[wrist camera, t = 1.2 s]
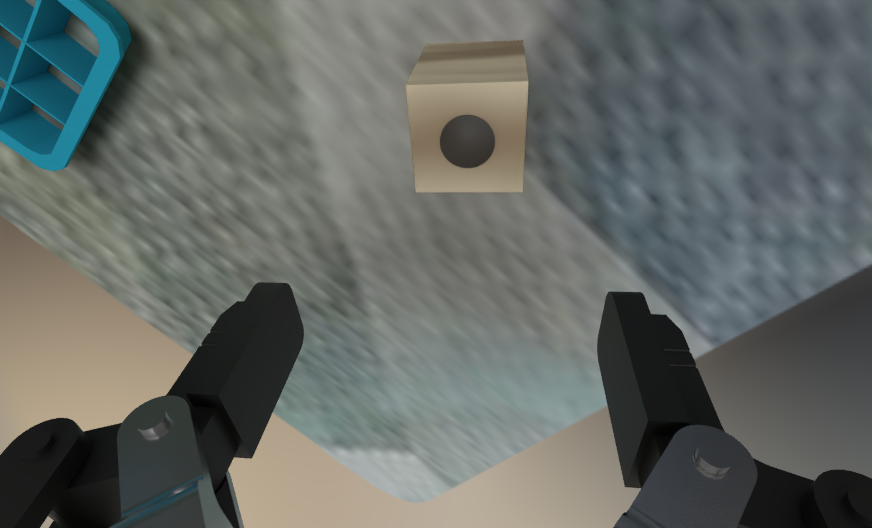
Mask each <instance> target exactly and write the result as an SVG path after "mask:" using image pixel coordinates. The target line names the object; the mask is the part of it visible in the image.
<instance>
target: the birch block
mask: <svg viewBox="0 0 872 528" xmlns="http://www.w3.org/2000/svg"><path fill="white" fill-rule="evenodd" d="M528 83H529V81H528V74H527V67H526V61H525V54H524V47H523V41H522V40H519V41H494V42H469V43H444V44H426V46H425V48H424V50H423V52H422V54H421V56H420V58H419V60H418V62H417V64H416V66H415V68H414V70H413V71H412V73H411V75H410V77H409V79H408V81H407V83H406V95H407V105H408V115H409V126H410V136H411V146H412V156H413V167H414V177H415V187H416V192H523V174H524V156H525V137H526V119H527V101H528Z"/></svg>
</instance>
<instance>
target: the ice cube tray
mask: <svg viewBox="0 0 872 528" xmlns="http://www.w3.org/2000/svg"><path fill="white" fill-rule="evenodd" d="M71 12H72V13H74V14H75V15H76V16H77V17H78V18H80V19H81V20H82V21H83V22H85V23H86V24H87V26H88V27H89V28H90V29H91V31H92V32H93V33H94V34H95V36H96V37H97V40H98V44H99V47H100V50H101V51H100V53H99V55H98V57H95V56H94V55H93V54H92V53H90V52H89V51H88V50H86V49H85V48H84V47H83V46H81V45H80V44H79V43H78V42H76V41H75V40H74V39H73V38H71V37H70V36H69V35H68V34H66V33H65V32H64V29H65V27H66V24H67V22H68V19H69V17H70V15H71ZM0 25H1V26H2V27H4V28H5V29H6V30H8V31H9V32H10V33H12V34H13V35H14V36H16V37H17V38H18V39H20V40H21V41H22V43H21V45H20V48H19V50H18V49H17V48H16V47H14V46H13V45H12V44H10V43H9V42H8V41H6V40H5V39H4V38H2V37H1V36H0V79H1V80H2V81H4V82H5V83H6V87H5V90H4V89H2V88H1V87H0V141H1V142H2V143H4V144H5V145H7V146H8V147H10V148H11V149H13V150H14V151H16V152H17V153H19V154H20V155H22V156H23V157H25V158H26V159H28V160H29V161H31V162H32V163H34V164H35V165H37V166H38V167H40V168H43V169H46V170H50V171H56V170H60V169H64V168H65V167H67V166H68V164H69V162H70V160H71V158H72V156H73V154H74V152H75V150H76V148H77V146H78V144H79V142H80V141H81V139H82V137H83V135H84V133H85V131H86V129H87V127H88V125H89V123H90V121H91V119H92V117H93V115H94V113H95V111H96V110H97V108H98V106H99V104H100V102H101V100H102V98H103V96H104V94H105V92H106V90H107V88H108V86H109V84H110V82H111V80H112V78H113V77H114V75H115V73H116V71H117V69H118V67H119V65H120V63H121V61H122V59H123V57H124V53H125V52H126V50H127V48H128V46H129V44H130V42H131V40H132V38H131V34H130V31H129V27H128V24H127V23H126V22H125V20H124V19H123V18H122V16H121V15H120V14H119V12H118V11H117V10H116V9H115V8H113V7H112V6H111V5H110V4H109V3H108V2H106V1H105V0H37V1H36V4H35V7H34V8H33V7H32V6H31V5H30V4H28V3H27V2H26V1H25V0H0ZM50 63H51V64H52V65H54V66H55V67H56V68H58V69H59V70H60V71H62V72H63V73H64V74H66V75H67V76H68V77H69V78H71V79H72V80H73V81H75V82H76V83H77V84H79V85H80V86H81V87H83V88H82V90H81V93H80V95H78V94H77V93H76V92H74V91H73V90H72V89H70V88H69V87H68V86H66V85H65V84H64V83H62V82H61V81H60V80H58V79H57V78H56V77H54V76H53V75H52V74H50V73H49V72H48V71H47V70H48V67H49V65H50ZM33 104H35V105H37V106H38V107H40V108H41V109H42V110H44V111H45V112H47V113H48V114H49V115H51V116H52V117H54V118H55V119H56V120H58V121H59V122H60V123H62V124H63V125H65V126H64V128H63V130H60V129H59V128H57V127H56V126H54V125H53V124H52V123H50V122H49V121H47V120H46V119H45V118H43V117H42V116H40V115H39V114H38V113H36V112H35V111H33V110H32V109H31V108H32V106H33Z"/></svg>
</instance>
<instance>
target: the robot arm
mask: <svg viewBox="0 0 872 528" xmlns="http://www.w3.org/2000/svg"><path fill="white" fill-rule="evenodd" d="M210 331H211V332H210V334H209V333H208V335H207V336H206V337H205V339H204V340H203V342H202V346H199V348H198V349H197V351H196V352H195V354H194V355H193V357H192V358H191V360H190V361H189V363H188V364H187V366H186V367H185V369H184V370H183V371H182V373H181V375H180V376H179V377H178V379H177V381H176V382H175V383H174V385H173V386H172V388H171V389H170V391H169V392H168V394H167V395H166V396H162V397H158V398H154V399H152V400H149V401H147V402H145V403H144V404H142V405H140V406H139V407H138V408H136V409H135V410H133V411H132V412H131V413H130V414H129V415H128V416H127V417H126V419H125V420H124V421H123V423H120V424H115V425H111V426H107V427H102V428H98V429H93V430H89V431H85V432H83V431H82V430H81V429H80V427H79V426H78V425H77V424H76V423H75V422H74V421H73V420H71V419H68V418H56V419H51V420H48V421H44V422H42V423H40V424H37V425H35V426H34V427H32V428H30V429H28V430H27V431H25V432H23V433H22V434H21V435H20V436H18V437H17V438H16V439H15V440H14V441H12V443H11V444H10V445H9V446H8V447H7V448H6V449H5V450H4V451H3V453H2V454H1V455H0V528H40V527H41V525H42V524H43V522H44V521H45V519H46V518H47V516H49V517H50V518H51V519H53V520H54V521H53V522H52V524H51V525H50V527H49V528H244V525H243V522H242V518H241V514H240V511H239V506H238V503H237V498H236V495H235V491H234V487H233V483H232V479H231V476H230V473H229V471H228V468H229V466H230V464H231V462H232V460H233V458H234V457H238V458H252V457H253V455H254V453H255V450H256V448H257V446H258V444H259V441H260V439H261V437H262V435H263V432H264V430H265V428H266V426H267V424H268V421H269V419H270V417H271V414H272V412H273V410H274V408H275V406H276V403H277V401H278V399H279V397H280V394H281V392H282V390H283V388H284V386H285V383H286V381H287V379H288V377H289V374H290V372H291V370H292V368H293V365H294V363H295V361H296V359H297V356H298V354H299V352H300V350H301V347H302V344H303V338H304V329H303V324H302V321H301V317H300V314H299V311H298V308H297V305H296V302H295V299H294V295H293V292H292V289H291V287H290V285H289V284H287V283H264V282H259V283H257V284H256V285H255V286H254V287H253V288H252V290H251V292H250V293H249V295H248V296H247V298H246V299H245V301H237V302H236V303H235V304H234V305H232V306H231V307H230V308H229V309H227V310H226V311H225V312H224V313H222V314H221V315H220V317H219V318H218V320H217V321H216V323H215V324H214V326H213V327H212V329H211V330H210ZM689 350H690V349H689V347H688V345H687V342H686V340H685V337H684V335H683V333H682V331H681V330H680V329H679V328H678V327H677V326H676V325H675V324H674V323H673V322H672V321H671V320H670V319H669V318H668V317H667V316H666V315H657V314H651V313H650V310H649V308H648V305H647V302H646V299H645V297H644V295H643V293H641V292H608V294H607V296H606V300H605V305H604V310H603V315H602V320H601V325H600V330H599V334H598V343H597V352H598V361H599V366H600V371H601V376H602V381H603V385H604V390H605V395H606V399H607V404H608V409H609V413H610V418H611V423H612V428H613V433H614V437H615V442H616V447H617V451H618V456H619V461H620V466H621V470H622V475H623V480H624V485H625V487H633V488H641V490H640V492H639V494H638V495H637V497H636V499H635V500H634V502H633V503H632V505H631V507H630V508H629V510H628V511H627V512H626V513H623V514H622V516H621V517H620V518H619V520H618V521H617V523H616V524H615V526H614V528H872V479H871V478H869V477H867V476H864V475H862V474H858V473H856V472H852V471H846V470H830V471H826V472H824V473H822V474H821V475H819V476H818V478H817V479H816V480H815V481H813V480H810V479H807V478H804V477H801V476H798V475H795V474H792V473H789V472H786V471H783V470H780V469H777V468H774V467H771V466H769V465H766V464H764V463H762V462H760V461H758V460H756V459H754V458H752V456H751V455H750V453H749V452H748V450H747V449H746V448H745V447H744V446H743V445H742V444H741V443H740V442H739V441H737V440H736V439H735V438H734V437H732V436H731V435H729V434H728V433H726V432H725V431H724V429H723V427H722V425H721V423H720V421H719V418H718V416H717V414H716V411H715V409H714V407H713V404H712V402H711V399H710V397H709V394H708V392H707V390H706V387H705V385H704V383H703V380H702V378H701V376H700V373H699V371H698V369H697V368H696V364H695V361H694V359H693V356H692V354H691V353H690V352H689Z"/></svg>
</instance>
